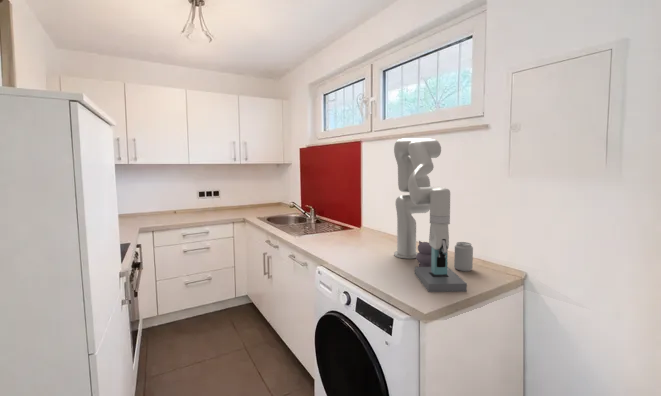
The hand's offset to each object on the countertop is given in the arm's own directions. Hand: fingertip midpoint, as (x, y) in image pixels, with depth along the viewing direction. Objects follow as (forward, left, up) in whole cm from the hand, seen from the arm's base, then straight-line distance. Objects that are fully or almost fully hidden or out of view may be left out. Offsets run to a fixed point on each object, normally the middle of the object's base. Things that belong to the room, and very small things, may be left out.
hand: (439, 264), depth 126 cm
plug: (0, 0, -3) cm, 3 cm away
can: (-15, +16, -7) cm, 23 cm away
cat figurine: (-18, 0, -7) cm, 20 cm away
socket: (0, 0, -7) cm, 7 cm away
